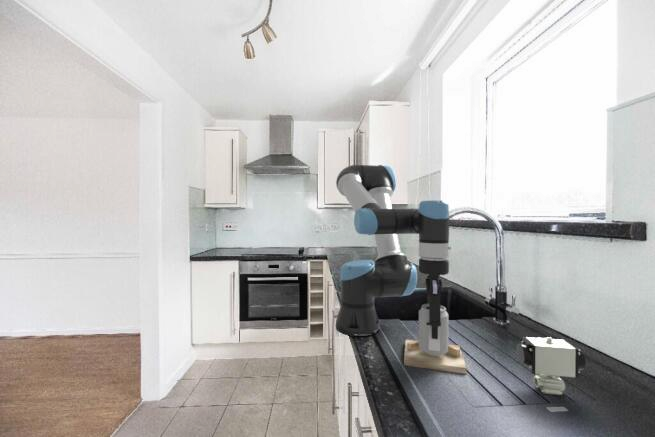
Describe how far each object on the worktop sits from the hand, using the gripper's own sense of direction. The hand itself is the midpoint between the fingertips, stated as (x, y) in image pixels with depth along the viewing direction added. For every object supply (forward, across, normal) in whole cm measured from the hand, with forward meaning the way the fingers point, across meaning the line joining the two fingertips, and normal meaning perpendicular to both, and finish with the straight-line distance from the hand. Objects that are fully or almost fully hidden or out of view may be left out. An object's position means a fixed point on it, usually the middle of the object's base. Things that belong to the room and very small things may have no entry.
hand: (433, 343), depth 78 cm
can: (+2, 0, 0) cm, 2 cm away
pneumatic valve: (+5, -6, -24) cm, 25 cm away
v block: (+5, +2, 0) cm, 6 cm away
